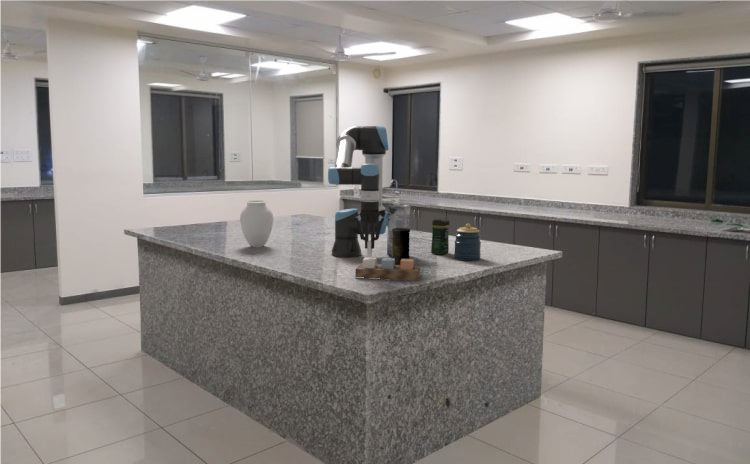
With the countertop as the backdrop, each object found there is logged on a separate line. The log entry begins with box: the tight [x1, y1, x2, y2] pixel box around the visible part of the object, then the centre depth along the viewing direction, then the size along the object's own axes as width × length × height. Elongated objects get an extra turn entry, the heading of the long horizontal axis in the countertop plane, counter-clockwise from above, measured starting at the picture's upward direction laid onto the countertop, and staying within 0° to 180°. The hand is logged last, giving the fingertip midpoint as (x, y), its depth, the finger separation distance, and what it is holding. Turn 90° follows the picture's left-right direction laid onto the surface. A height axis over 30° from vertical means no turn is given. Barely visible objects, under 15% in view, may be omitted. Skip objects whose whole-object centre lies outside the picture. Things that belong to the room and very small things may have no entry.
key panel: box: [355, 263, 421, 282], centre depth 243 cm, size 26×11×4 cm, turn 81°
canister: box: [453, 223, 482, 262], centre depth 284 cm, size 13×13×18 cm
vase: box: [239, 200, 274, 248], centre depth 314 cm, size 18×18×25 cm
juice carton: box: [386, 201, 412, 257], centre depth 290 cm, size 9×10×27 cm
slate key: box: [381, 257, 395, 269], centre depth 243 cm, size 5×5×6 cm
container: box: [391, 228, 411, 265], centre depth 260 cm, size 9×9×18 cm
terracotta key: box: [400, 258, 415, 270], centre depth 241 cm, size 5×5×6 cm
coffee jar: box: [430, 217, 450, 255], centre depth 298 cm, size 10×8×19 cm
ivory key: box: [362, 256, 377, 268], centre depth 244 cm, size 5×5×6 cm
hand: (369, 256), depth 244 cm, fingers closed
